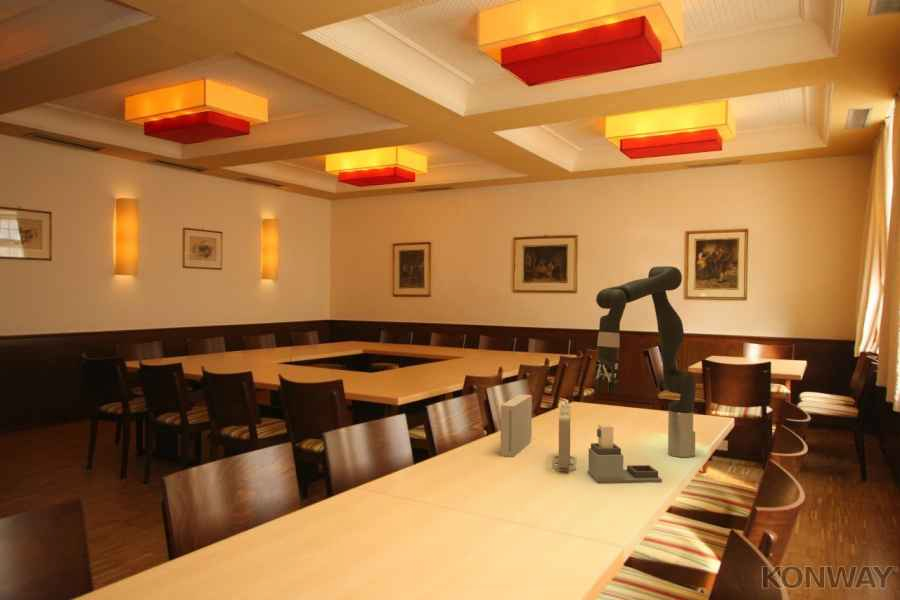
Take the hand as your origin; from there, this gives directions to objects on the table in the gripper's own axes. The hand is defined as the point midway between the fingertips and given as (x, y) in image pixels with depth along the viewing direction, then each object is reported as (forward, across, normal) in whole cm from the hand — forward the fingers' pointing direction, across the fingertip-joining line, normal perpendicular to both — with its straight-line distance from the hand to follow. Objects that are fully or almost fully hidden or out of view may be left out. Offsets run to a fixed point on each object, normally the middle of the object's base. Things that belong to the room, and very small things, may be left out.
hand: (605, 391), depth 219 cm
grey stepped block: (+29, -4, -7) cm, 30 cm away
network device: (+29, +16, +6) cm, 34 cm away
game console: (+29, +42, +17) cm, 53 cm away
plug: (+20, -3, 0) cm, 21 cm away
